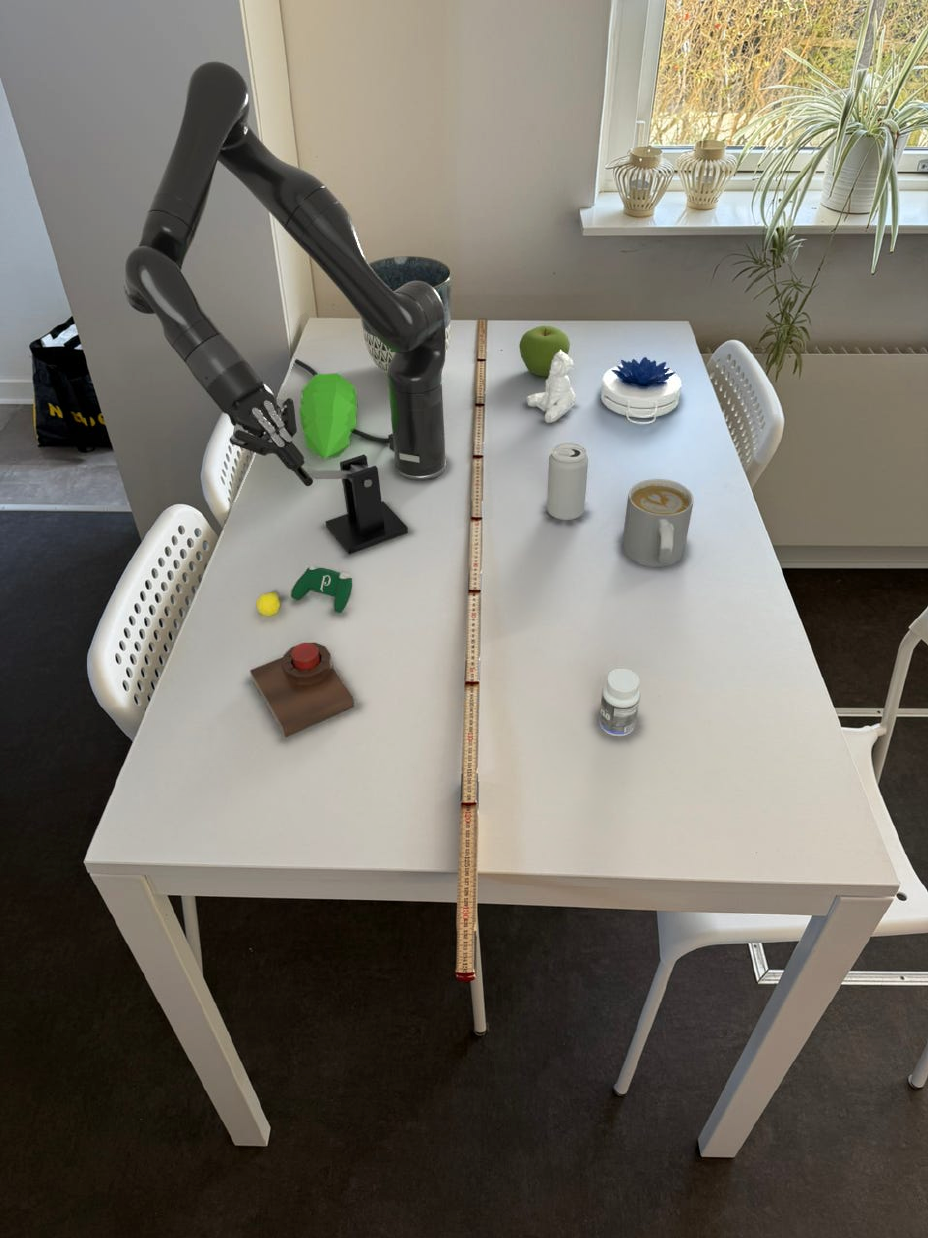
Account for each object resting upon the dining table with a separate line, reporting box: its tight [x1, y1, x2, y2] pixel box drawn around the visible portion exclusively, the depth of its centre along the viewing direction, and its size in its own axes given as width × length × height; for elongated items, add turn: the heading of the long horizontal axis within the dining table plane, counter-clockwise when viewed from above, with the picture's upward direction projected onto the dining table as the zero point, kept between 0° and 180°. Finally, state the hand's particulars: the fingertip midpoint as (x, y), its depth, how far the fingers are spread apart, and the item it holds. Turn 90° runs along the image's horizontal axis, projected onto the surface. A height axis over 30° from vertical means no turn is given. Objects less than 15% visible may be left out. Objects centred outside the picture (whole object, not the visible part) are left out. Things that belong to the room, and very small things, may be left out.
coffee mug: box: [621, 478, 694, 568], centre depth 135 cm, size 13×10×10 cm
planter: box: [359, 255, 453, 374], centre depth 179 cm, size 20×20×21 cm
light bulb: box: [255, 589, 281, 617], centre depth 130 cm, size 3×6×4 cm, turn 175°
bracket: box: [325, 454, 409, 555], centre depth 141 cm, size 11×9×13 cm
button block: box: [249, 642, 355, 738], centre depth 117 cm, size 12×10×4 cm
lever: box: [294, 465, 369, 487], centre depth 135 cm, size 12×5×2 cm, turn 121°
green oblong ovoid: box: [298, 372, 358, 460], centre depth 162 cm, size 11×12×30 cm
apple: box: [519, 325, 571, 378], centre depth 182 cm, size 11×10×10 cm
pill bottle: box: [598, 668, 641, 737], centre depth 110 cm, size 5×5×8 cm
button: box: [291, 642, 320, 670], centre depth 117 cm, size 4×4×2 cm
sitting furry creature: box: [526, 350, 577, 424], centre depth 169 cm, size 10×9×12 cm
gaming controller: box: [290, 563, 353, 614], centre depth 132 cm, size 9×4×6 cm
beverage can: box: [546, 442, 589, 521], centre depth 143 cm, size 6×6×12 cm
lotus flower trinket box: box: [600, 356, 682, 425], centre depth 172 cm, size 7×16×20 cm
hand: (299, 467), depth 131 cm, fingers closed
